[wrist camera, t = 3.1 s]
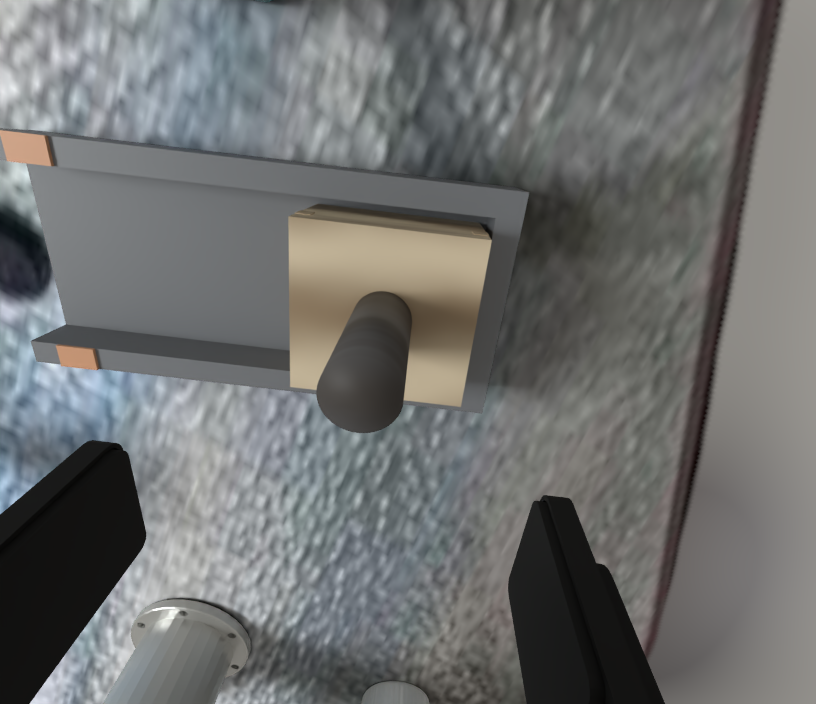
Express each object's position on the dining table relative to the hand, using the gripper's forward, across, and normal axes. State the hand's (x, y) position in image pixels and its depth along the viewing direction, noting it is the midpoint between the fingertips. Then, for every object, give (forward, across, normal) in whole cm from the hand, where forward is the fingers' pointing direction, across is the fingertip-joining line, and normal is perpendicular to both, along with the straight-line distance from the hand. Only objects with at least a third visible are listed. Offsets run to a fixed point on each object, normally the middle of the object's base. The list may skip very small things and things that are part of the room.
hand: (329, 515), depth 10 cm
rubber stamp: (+20, 0, +1) cm, 20 cm away
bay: (+21, +8, +1) cm, 23 cm away
